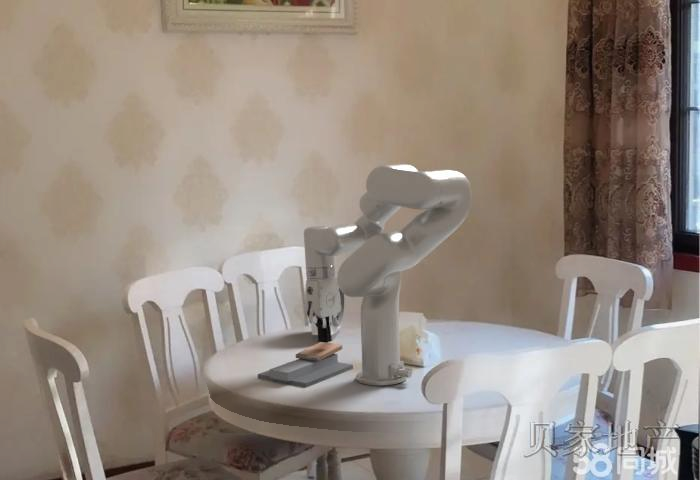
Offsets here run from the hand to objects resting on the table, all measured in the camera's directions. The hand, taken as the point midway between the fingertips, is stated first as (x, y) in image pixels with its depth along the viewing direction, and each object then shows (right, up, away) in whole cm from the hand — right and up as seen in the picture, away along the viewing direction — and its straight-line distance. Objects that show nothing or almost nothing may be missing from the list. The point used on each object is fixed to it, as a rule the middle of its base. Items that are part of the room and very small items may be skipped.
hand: (324, 341), depth 222 cm
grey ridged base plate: (-5, -8, -5) cm, 10 cm away
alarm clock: (0, -3, +36) cm, 36 cm away
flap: (-2, -2, 0) cm, 3 cm away
